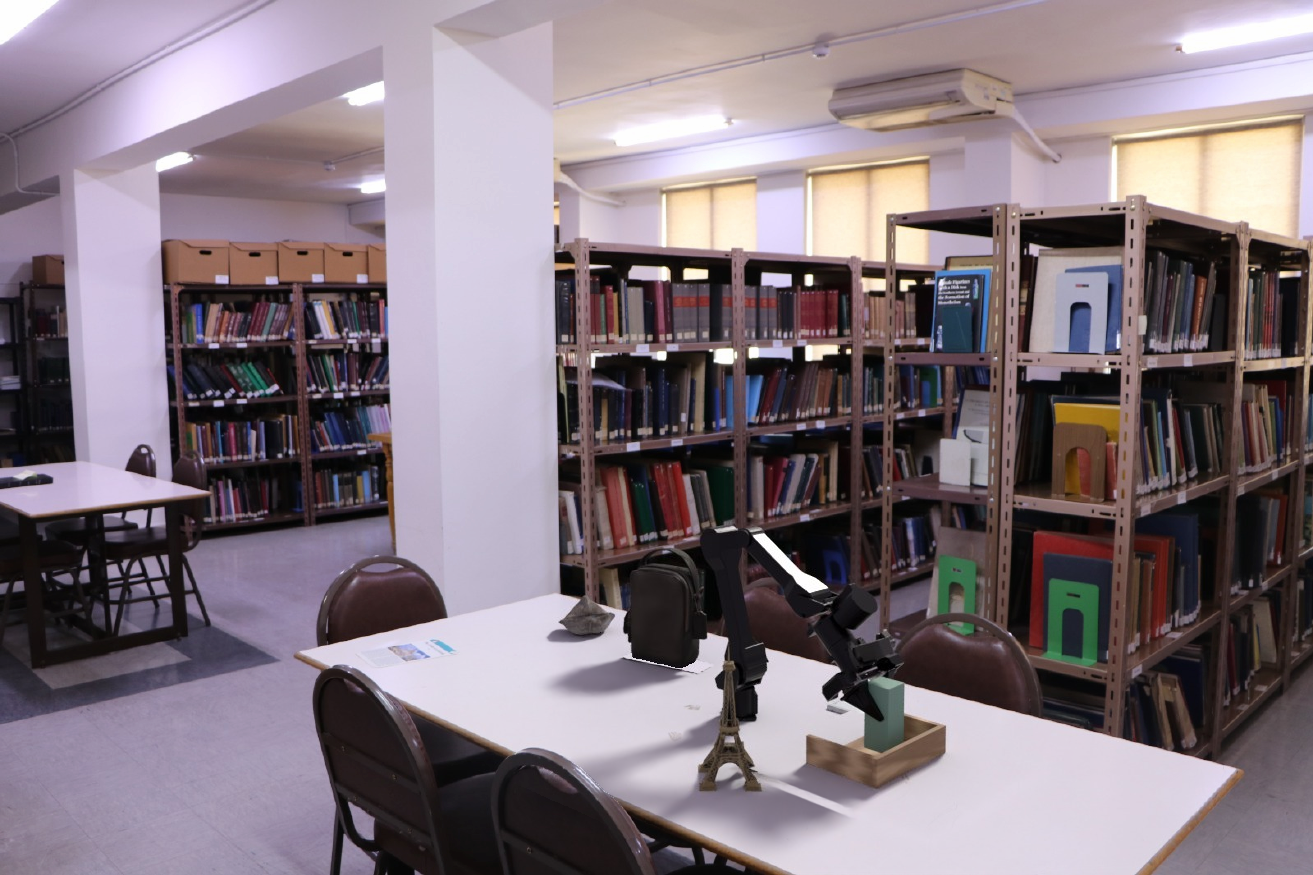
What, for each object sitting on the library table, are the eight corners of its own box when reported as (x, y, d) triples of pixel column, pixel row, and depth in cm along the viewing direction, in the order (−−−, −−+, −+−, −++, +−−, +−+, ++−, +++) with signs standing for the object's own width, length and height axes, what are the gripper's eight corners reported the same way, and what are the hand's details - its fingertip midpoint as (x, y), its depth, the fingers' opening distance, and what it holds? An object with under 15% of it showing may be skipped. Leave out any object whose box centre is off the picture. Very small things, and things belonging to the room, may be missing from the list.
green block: (864, 747, 180) (865, 682, 179) (879, 740, 184) (880, 676, 182) (887, 755, 176) (888, 689, 175) (903, 747, 180) (904, 682, 179)
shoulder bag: (717, 664, 240) (717, 549, 238) (697, 674, 233) (697, 555, 230) (640, 649, 253) (639, 540, 250) (619, 658, 245) (617, 546, 243)
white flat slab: (826, 704, 209) (876, 719, 200) (850, 694, 215) (899, 709, 205) (826, 711, 209) (876, 727, 200) (850, 702, 215) (899, 717, 206)
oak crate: (806, 768, 179) (806, 735, 179) (876, 735, 194) (876, 705, 194) (876, 794, 168) (877, 759, 168) (945, 757, 183) (946, 725, 183)
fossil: (552, 638, 264) (551, 601, 263) (565, 624, 278) (565, 588, 277) (608, 640, 261) (608, 602, 260) (619, 625, 275) (619, 590, 274)
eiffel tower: (699, 766, 181) (697, 631, 179) (757, 766, 181) (756, 630, 178) (699, 791, 170) (698, 648, 168) (761, 791, 170) (761, 648, 168)
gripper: (836, 629, 174) (889, 707, 167) (896, 610, 187) (947, 681, 180) (800, 663, 181) (849, 739, 174) (860, 642, 194) (908, 712, 187)
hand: (890, 716), depth 178 cm, fingers closed on green block, 5 cm apart
